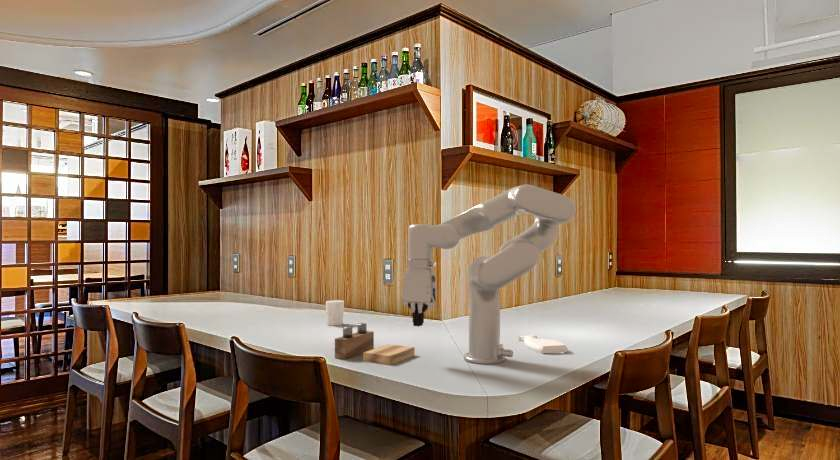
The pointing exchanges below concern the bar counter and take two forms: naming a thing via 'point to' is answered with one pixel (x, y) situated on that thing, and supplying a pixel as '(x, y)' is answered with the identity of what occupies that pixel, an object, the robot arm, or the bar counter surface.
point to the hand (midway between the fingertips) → (418, 325)
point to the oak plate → (388, 354)
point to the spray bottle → (543, 344)
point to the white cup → (334, 312)
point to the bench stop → (354, 342)
